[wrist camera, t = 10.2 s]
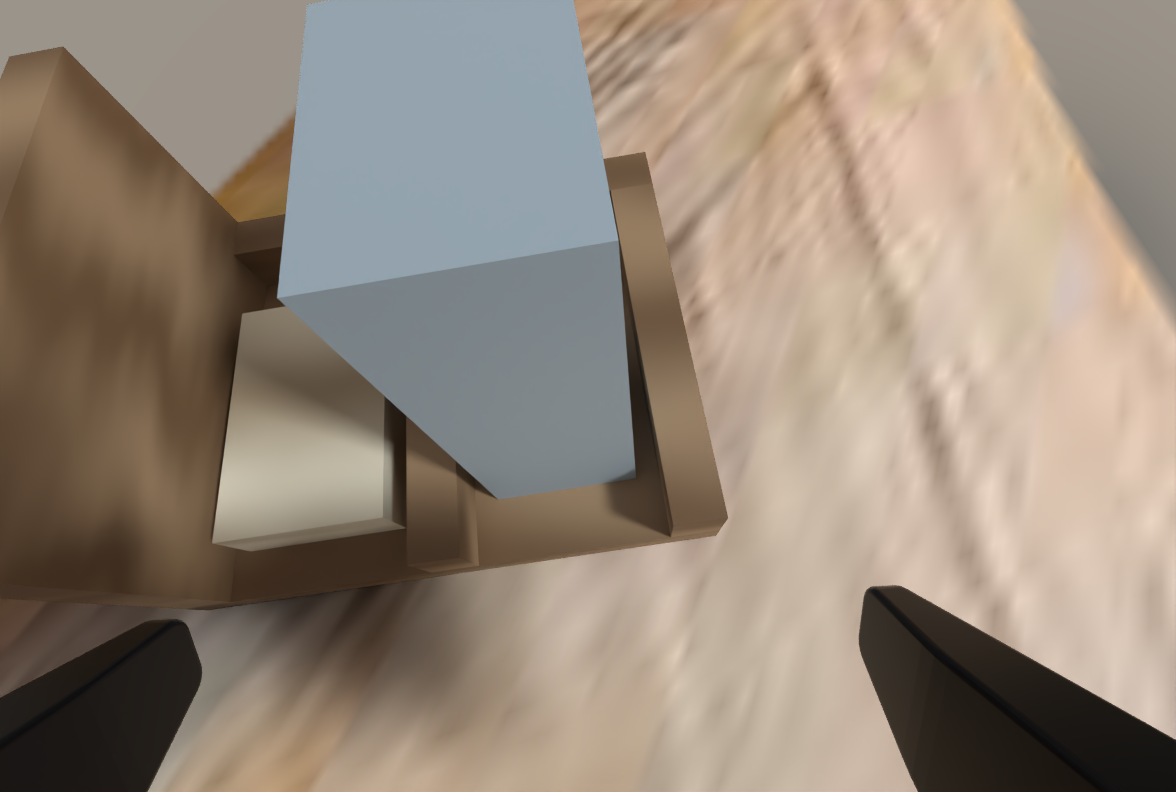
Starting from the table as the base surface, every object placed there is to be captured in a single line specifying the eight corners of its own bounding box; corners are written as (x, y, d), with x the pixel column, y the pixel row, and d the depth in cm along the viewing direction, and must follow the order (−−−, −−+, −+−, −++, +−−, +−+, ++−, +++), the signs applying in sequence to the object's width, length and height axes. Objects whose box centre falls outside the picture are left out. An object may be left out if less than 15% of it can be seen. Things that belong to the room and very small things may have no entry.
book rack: (715, 535, 18) (784, 435, 9) (207, 610, 19) (-206, 586, 10) (645, 208, 24) (644, -63, 14) (250, 274, 24) (9, 56, 15)
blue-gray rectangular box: (636, 478, 18) (618, 240, 7) (498, 499, 18) (276, 297, 7) (609, 318, 21) (564, -44, 10) (487, 338, 21) (307, 4, 10)
